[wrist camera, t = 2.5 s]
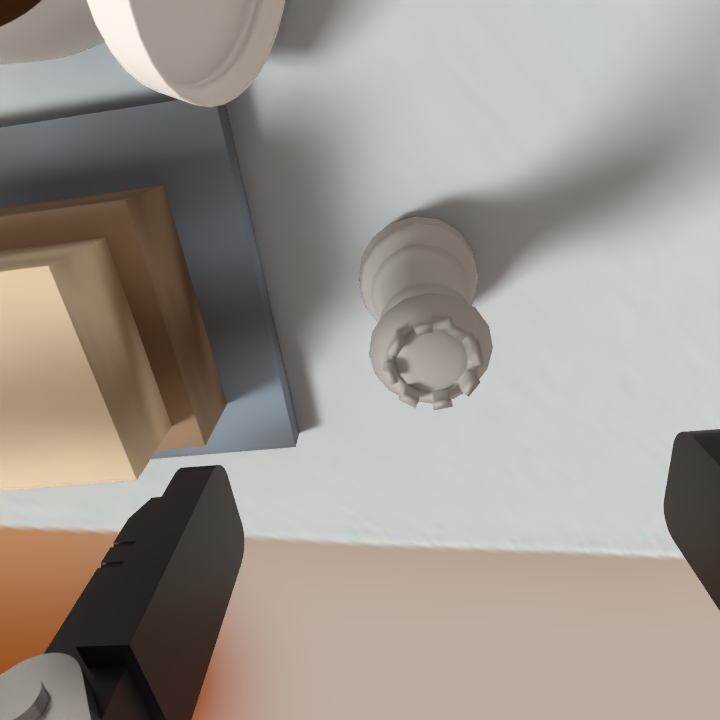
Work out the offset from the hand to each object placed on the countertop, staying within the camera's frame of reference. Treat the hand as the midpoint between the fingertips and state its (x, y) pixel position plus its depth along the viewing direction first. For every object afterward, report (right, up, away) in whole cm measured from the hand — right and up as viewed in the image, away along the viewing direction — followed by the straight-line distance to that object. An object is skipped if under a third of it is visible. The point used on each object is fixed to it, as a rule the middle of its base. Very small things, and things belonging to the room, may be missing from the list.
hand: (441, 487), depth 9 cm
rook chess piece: (+1, +6, +11) cm, 12 cm away
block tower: (-12, +4, +12) cm, 18 cm away
